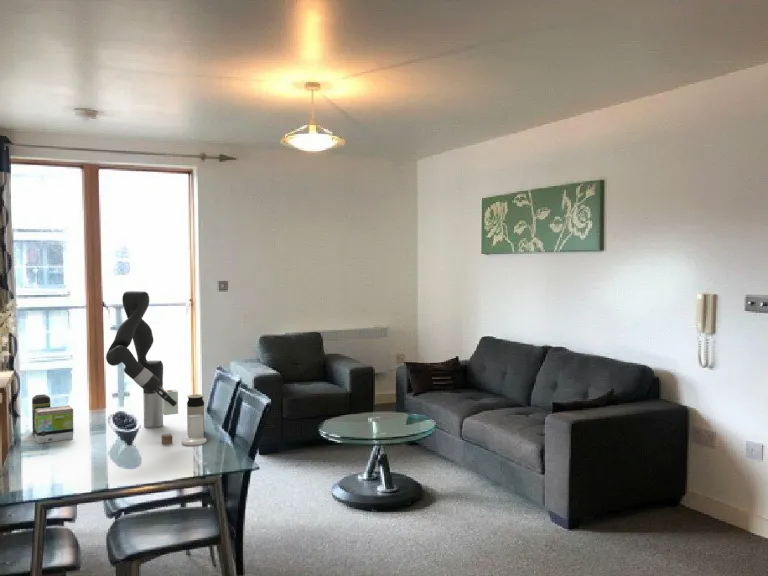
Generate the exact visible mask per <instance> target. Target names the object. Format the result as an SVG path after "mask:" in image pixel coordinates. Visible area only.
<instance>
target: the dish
mask: <svg viewBox="0 0 768 576" xmlns="http://www.w3.org/2000/svg"><path fill="white" fill-rule="evenodd" d="M180 443H181V445H182V446H185V447H196V446H201V445H205V444H207V438H206V437H191V438H189V437H186V438H184V439H183V438H182V439H181V441H180Z"/></svg>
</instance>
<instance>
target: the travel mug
mask: <svg viewBox="0 0 768 576" xmlns="http://www.w3.org/2000/svg"><path fill="white" fill-rule="evenodd" d="M186 396H187V402H186V414H187V417H186V419H187V423H186V424H187V427H186V428H187V432H188V415H195V414H201V415H202V416H203V432H205V430H206V428H205V427H206V426H205V401H204V394H199V393H196V394H188V395H186Z"/></svg>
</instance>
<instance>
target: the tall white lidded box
mask: <svg viewBox="0 0 768 576" xmlns="http://www.w3.org/2000/svg"><path fill="white" fill-rule="evenodd" d="M204 432H205V431H204ZM204 432H203V416H202V415H201V414H195V415H188V431H187V438H191V437H203V438H205V437H204Z"/></svg>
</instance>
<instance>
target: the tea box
mask: <svg viewBox="0 0 768 576" xmlns="http://www.w3.org/2000/svg"><path fill="white" fill-rule="evenodd" d="M67 439H70V440H73V439H74V408H73V407H72V406H71V405H69V404H68V405H61V406H60V405H59V406H51V407H49V408H39V409H35V434H34V440H35V442H36V443H37V442H38V443H37V444H44V442H45V443H52V442H59V441H58V440H61V441H68V440H67Z"/></svg>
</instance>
